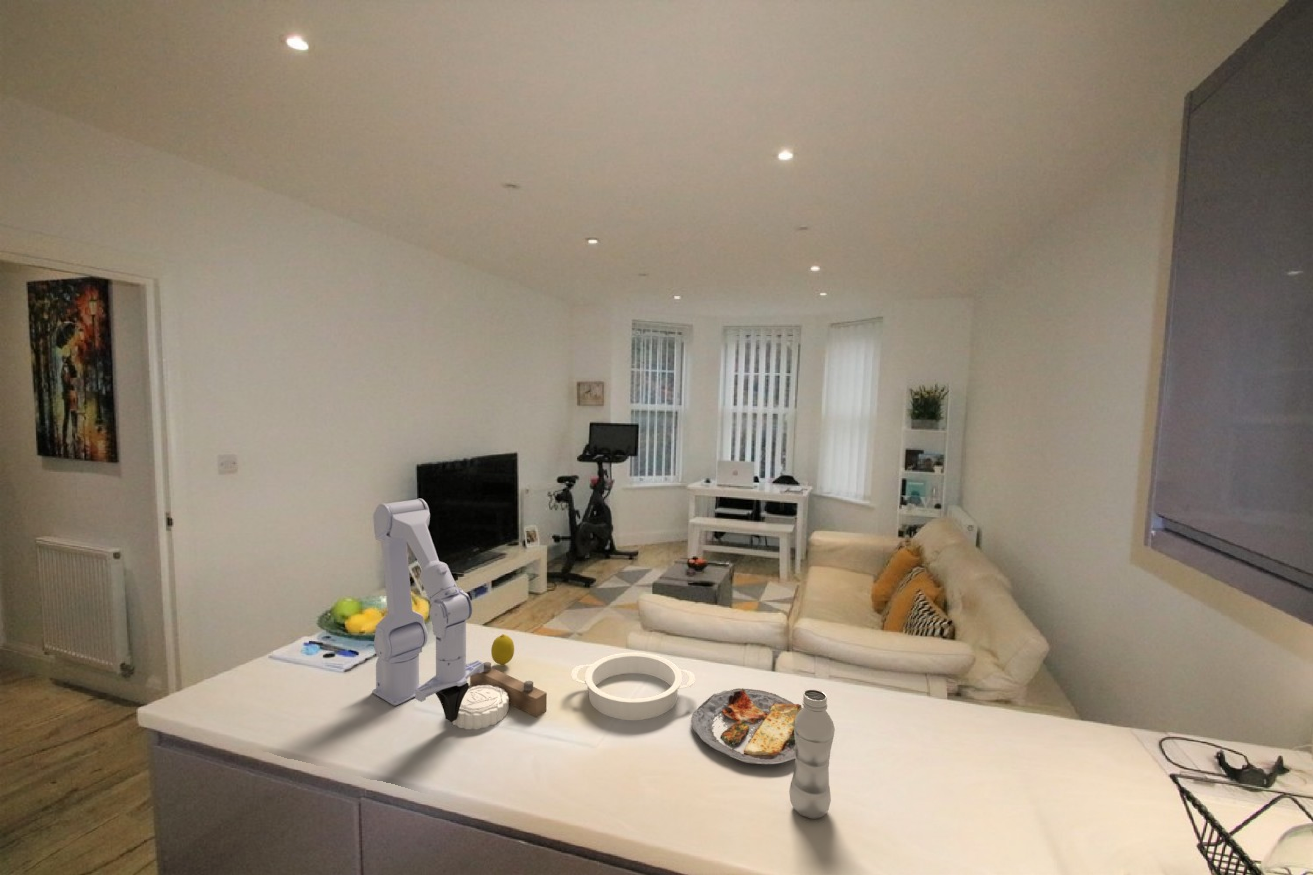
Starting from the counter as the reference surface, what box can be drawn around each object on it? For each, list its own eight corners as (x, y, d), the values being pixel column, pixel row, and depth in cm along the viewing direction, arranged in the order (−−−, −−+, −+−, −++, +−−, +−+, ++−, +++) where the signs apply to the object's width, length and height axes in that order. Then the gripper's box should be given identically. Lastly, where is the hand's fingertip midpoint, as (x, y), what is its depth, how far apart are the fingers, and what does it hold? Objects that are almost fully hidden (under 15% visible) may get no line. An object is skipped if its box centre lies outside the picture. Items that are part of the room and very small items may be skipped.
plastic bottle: (783, 796, 94) (788, 685, 93) (821, 795, 95) (827, 684, 93) (796, 825, 88) (801, 706, 86) (836, 823, 88) (843, 705, 87)
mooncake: (500, 692, 125) (500, 677, 124) (515, 720, 114) (515, 703, 114) (445, 706, 119) (445, 690, 118) (455, 736, 108) (455, 719, 108)
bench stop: (470, 684, 128) (470, 661, 127) (480, 678, 130) (480, 656, 130) (536, 716, 115) (536, 691, 115) (546, 710, 118) (546, 685, 117)
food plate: (731, 685, 130) (731, 671, 130) (828, 722, 116) (828, 706, 116) (672, 740, 110) (672, 723, 109) (781, 792, 96) (782, 774, 96)
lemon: (507, 672, 134) (508, 640, 133) (487, 669, 135) (487, 638, 134) (517, 661, 139) (518, 631, 138) (497, 658, 140) (498, 628, 139)
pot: (559, 720, 115) (560, 698, 115) (580, 667, 137) (580, 649, 137) (695, 728, 113) (696, 705, 113) (693, 673, 136) (694, 655, 135)
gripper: (430, 674, 101) (430, 744, 102) (493, 646, 113) (493, 709, 114) (408, 663, 105) (409, 730, 106) (471, 637, 117) (471, 698, 118)
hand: (451, 718), depth 111 cm, fingers closed
